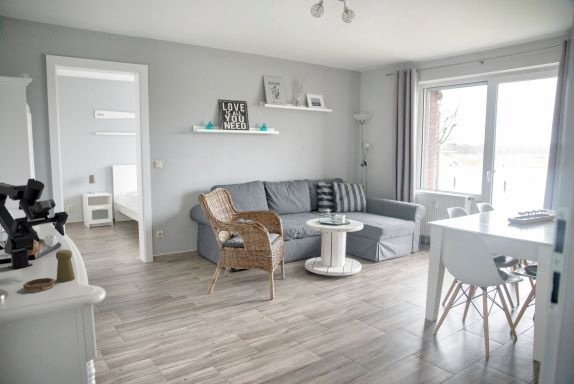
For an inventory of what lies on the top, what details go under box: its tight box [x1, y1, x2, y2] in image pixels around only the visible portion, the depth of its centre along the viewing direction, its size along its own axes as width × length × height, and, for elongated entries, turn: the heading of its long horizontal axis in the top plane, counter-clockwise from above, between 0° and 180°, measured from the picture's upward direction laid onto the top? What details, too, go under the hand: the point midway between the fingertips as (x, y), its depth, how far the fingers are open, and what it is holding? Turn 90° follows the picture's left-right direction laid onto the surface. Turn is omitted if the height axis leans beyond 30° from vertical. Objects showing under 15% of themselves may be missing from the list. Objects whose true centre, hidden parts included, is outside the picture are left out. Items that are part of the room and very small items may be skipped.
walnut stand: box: [22, 277, 55, 293], centre depth 139 cm, size 9×9×2 cm
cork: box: [55, 249, 76, 283], centre depth 147 cm, size 6×6×11 cm
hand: (51, 237), depth 151 cm, fingers open, 9 cm apart
